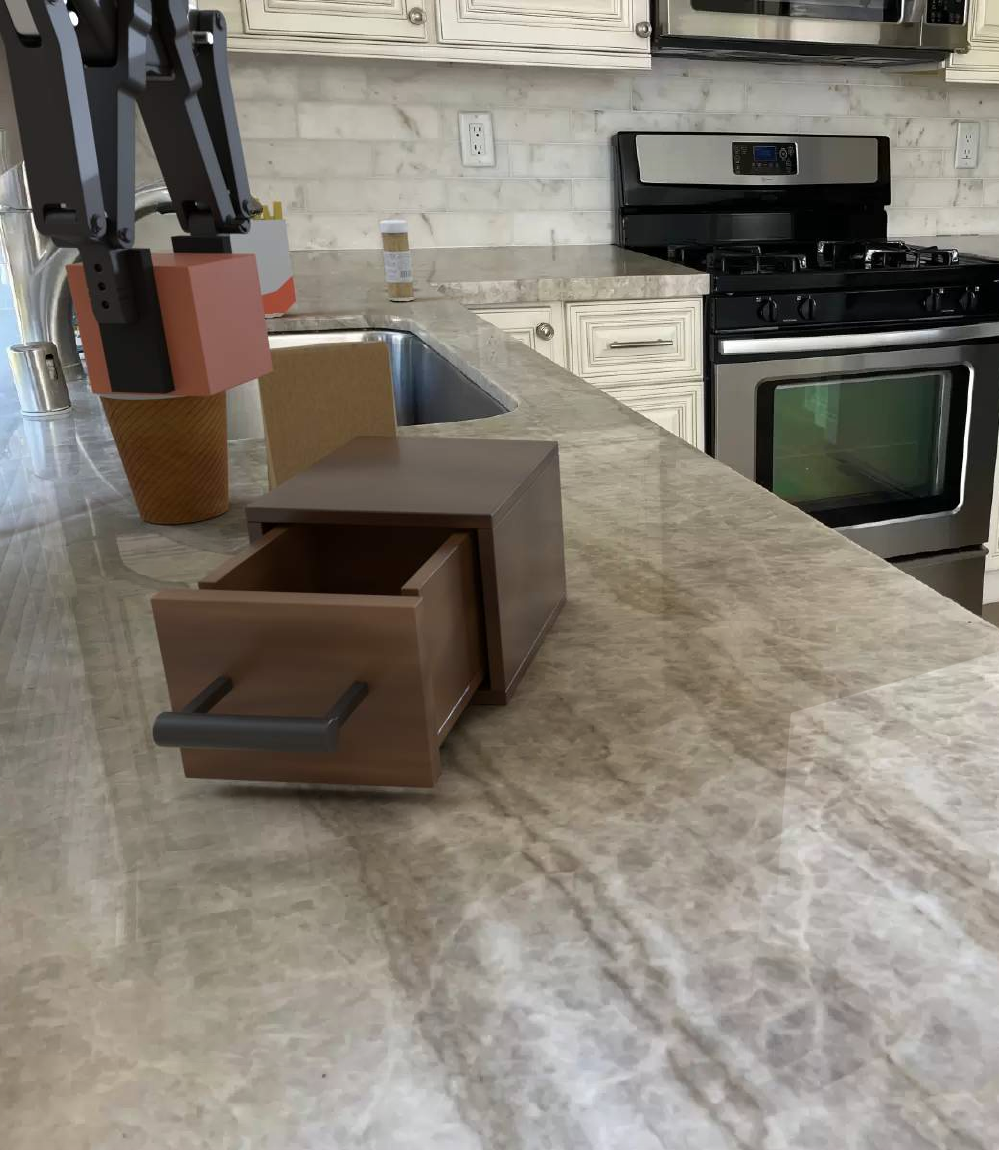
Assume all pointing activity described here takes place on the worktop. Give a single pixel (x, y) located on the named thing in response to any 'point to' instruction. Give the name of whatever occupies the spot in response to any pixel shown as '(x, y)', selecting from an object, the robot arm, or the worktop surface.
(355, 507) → the cabinet
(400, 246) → the sprinkles bottle
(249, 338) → the block
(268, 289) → the french fries container
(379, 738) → the drawer
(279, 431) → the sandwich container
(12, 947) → the worktop surface
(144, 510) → the disposable coffee cup
